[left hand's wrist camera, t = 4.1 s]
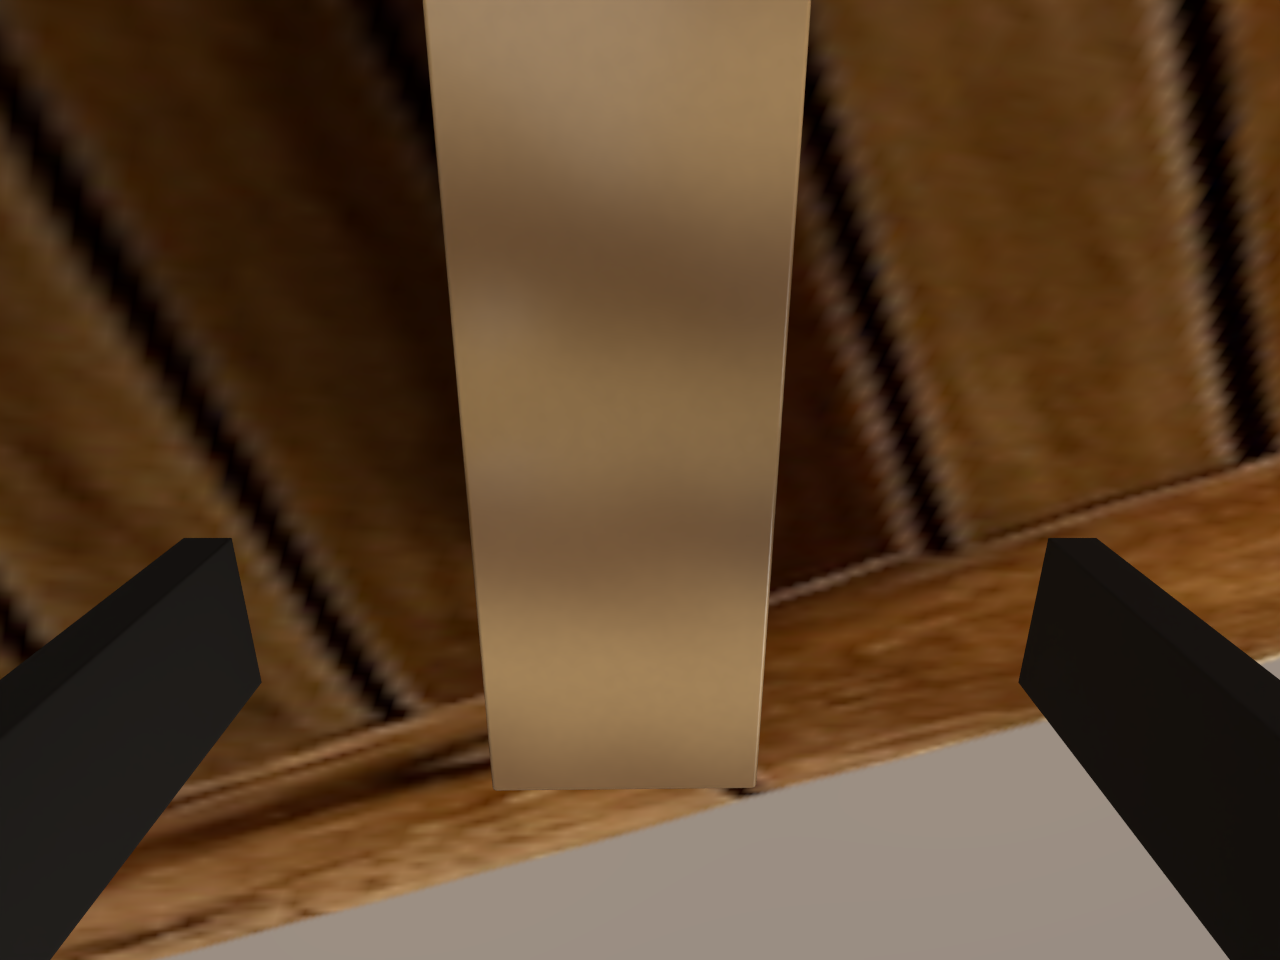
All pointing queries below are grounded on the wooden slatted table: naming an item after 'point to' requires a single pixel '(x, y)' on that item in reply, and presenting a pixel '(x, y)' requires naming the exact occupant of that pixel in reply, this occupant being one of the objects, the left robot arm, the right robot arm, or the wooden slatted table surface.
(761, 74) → the post
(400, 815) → the wooden slatted table surface
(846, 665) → the wooden slatted table surface
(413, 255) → the wooden slatted table surface
